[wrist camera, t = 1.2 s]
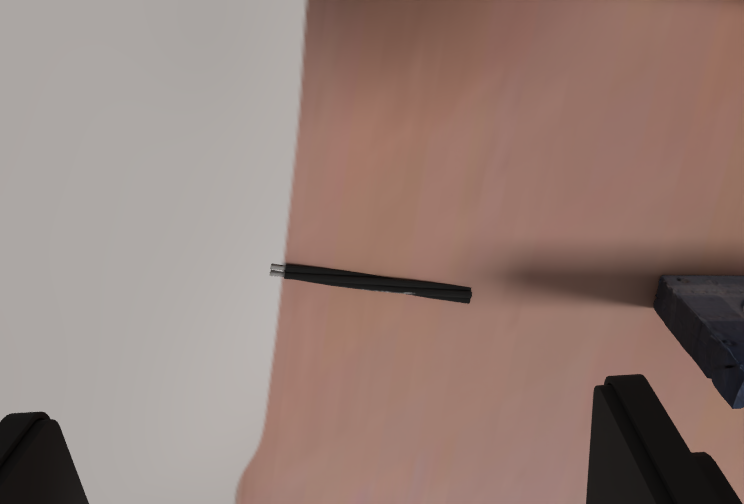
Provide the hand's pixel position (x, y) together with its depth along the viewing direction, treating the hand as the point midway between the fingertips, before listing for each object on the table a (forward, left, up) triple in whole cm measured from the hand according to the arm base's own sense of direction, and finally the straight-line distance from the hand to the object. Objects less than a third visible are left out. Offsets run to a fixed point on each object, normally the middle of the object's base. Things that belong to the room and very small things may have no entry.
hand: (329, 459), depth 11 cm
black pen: (-1, +10, -27) cm, 28 cm away
